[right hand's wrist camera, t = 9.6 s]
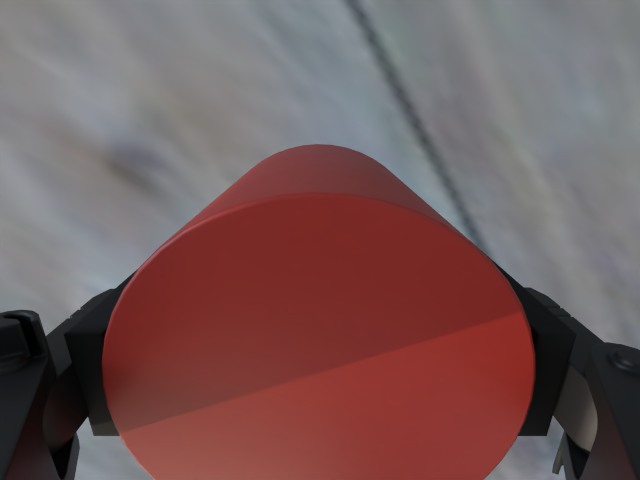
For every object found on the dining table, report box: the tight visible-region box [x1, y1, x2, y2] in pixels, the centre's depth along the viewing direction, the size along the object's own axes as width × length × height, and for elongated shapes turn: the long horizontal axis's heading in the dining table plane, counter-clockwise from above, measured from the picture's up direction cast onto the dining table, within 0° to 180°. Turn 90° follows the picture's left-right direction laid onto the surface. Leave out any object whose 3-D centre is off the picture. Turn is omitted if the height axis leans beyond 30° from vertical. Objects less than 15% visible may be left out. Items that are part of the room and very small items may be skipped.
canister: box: [102, 144, 536, 480], centre depth 11 cm, size 9×9×9 cm
